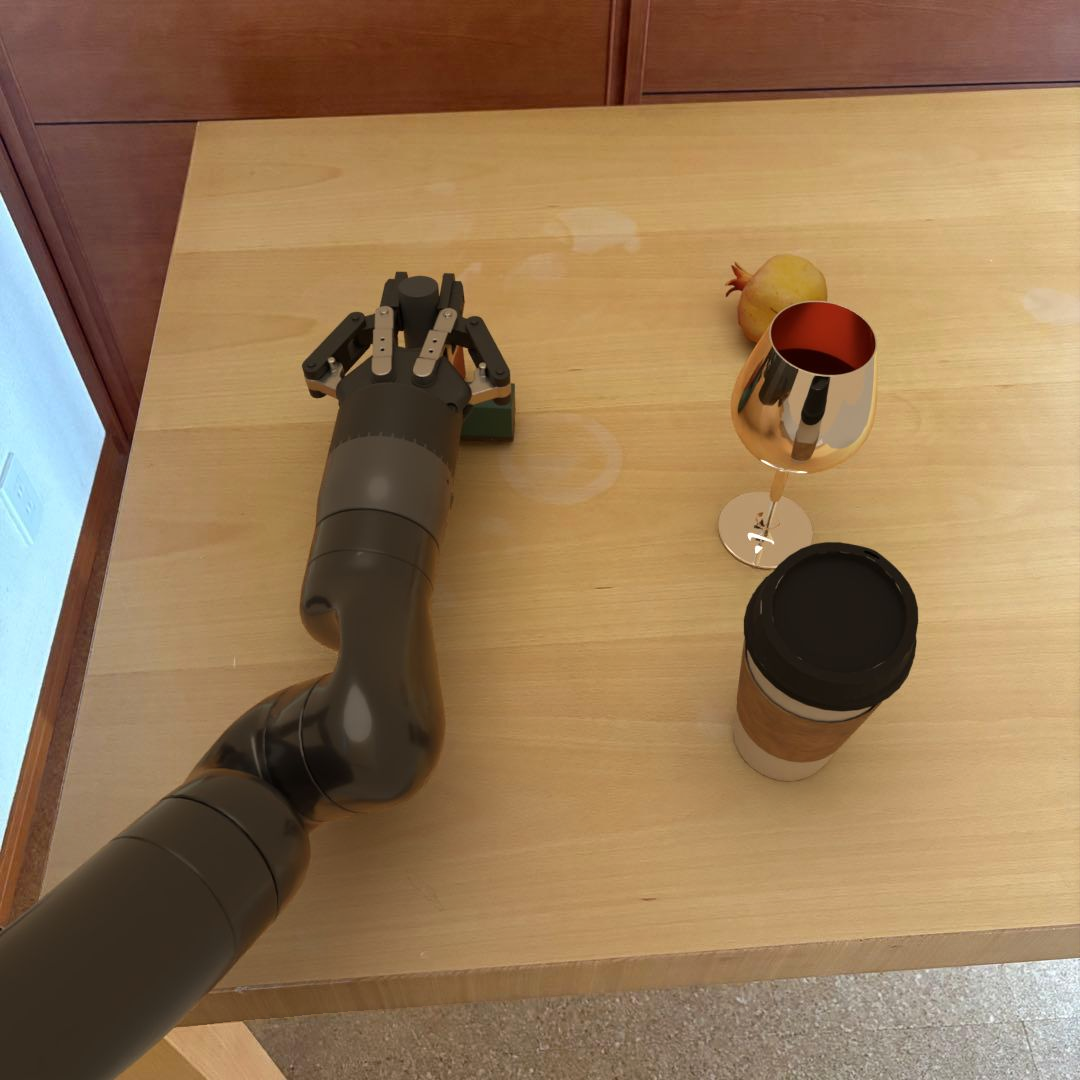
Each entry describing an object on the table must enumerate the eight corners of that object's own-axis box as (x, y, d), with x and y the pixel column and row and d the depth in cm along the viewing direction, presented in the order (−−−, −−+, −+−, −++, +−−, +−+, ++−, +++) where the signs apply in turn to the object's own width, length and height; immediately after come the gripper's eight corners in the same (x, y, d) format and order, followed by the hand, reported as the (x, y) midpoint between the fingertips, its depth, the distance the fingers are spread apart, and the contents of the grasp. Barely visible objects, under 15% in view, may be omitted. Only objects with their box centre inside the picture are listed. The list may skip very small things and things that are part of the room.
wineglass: (691, 492, 71) (727, 296, 56) (802, 474, 72) (867, 276, 57) (724, 589, 66) (773, 404, 51) (843, 569, 67) (925, 381, 52)
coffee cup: (876, 716, 61) (958, 586, 49) (815, 831, 57) (887, 720, 45) (752, 648, 64) (799, 508, 51) (685, 752, 60) (720, 628, 48)
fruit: (877, 275, 75) (762, 219, 78) (837, 307, 71) (717, 246, 74) (842, 351, 80) (736, 295, 83) (804, 386, 75) (692, 325, 79)
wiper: (348, 440, 73) (322, 295, 65) (355, 414, 75) (331, 271, 67) (512, 446, 73) (508, 300, 64) (515, 420, 75) (512, 276, 66)
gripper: (504, 444, 56) (527, 240, 65) (255, 435, 56) (315, 233, 66) (510, 524, 62) (530, 326, 72) (285, 514, 62) (335, 319, 72)
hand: (426, 282), depth 69 cm, fingers closed on wiper, 2 cm apart
